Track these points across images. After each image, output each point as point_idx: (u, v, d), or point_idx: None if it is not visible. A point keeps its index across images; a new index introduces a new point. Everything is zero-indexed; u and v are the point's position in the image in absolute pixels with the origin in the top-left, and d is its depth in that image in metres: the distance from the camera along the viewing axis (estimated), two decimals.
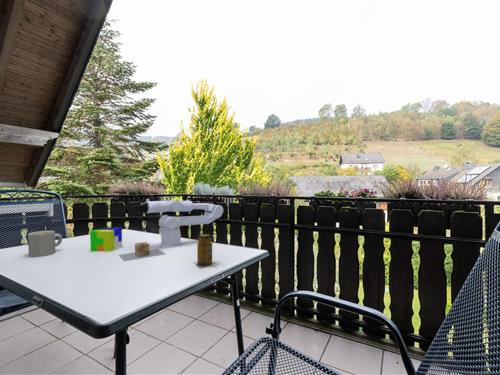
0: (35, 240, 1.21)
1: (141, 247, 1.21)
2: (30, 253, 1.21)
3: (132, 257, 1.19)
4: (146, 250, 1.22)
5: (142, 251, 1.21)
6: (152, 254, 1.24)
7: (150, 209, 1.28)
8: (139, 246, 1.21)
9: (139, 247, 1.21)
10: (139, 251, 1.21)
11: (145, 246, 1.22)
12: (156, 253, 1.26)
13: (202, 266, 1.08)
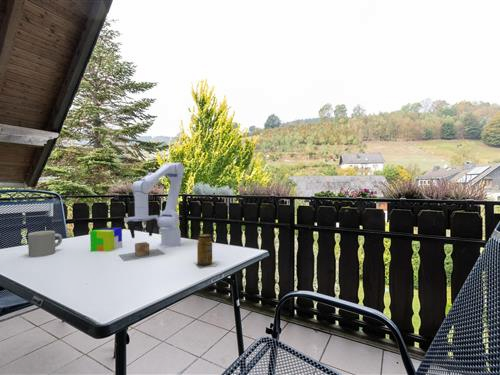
0: (35, 240, 1.21)
1: (141, 247, 1.21)
2: (30, 253, 1.21)
3: (132, 257, 1.19)
4: (146, 250, 1.22)
5: (142, 251, 1.21)
6: (152, 254, 1.24)
7: None
8: (139, 246, 1.21)
9: (139, 247, 1.21)
10: (139, 251, 1.21)
11: (145, 246, 1.22)
12: (156, 253, 1.26)
13: (202, 266, 1.08)
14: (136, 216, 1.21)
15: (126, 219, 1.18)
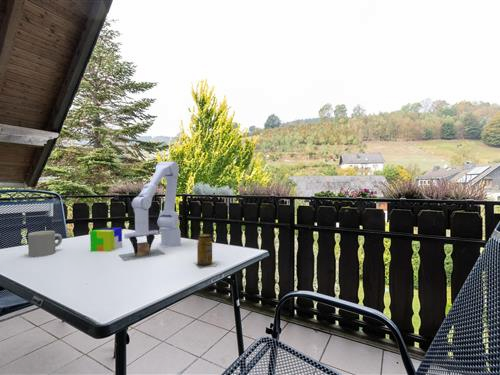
0: (35, 240, 1.21)
1: (141, 247, 1.21)
2: (30, 253, 1.21)
3: (132, 257, 1.19)
4: (146, 250, 1.22)
5: (142, 251, 1.21)
6: (152, 254, 1.24)
7: None
8: (139, 246, 1.21)
9: (139, 247, 1.21)
10: (139, 251, 1.21)
11: (145, 246, 1.22)
12: (156, 253, 1.26)
13: (202, 266, 1.08)
14: (136, 232, 1.21)
15: (126, 235, 1.19)
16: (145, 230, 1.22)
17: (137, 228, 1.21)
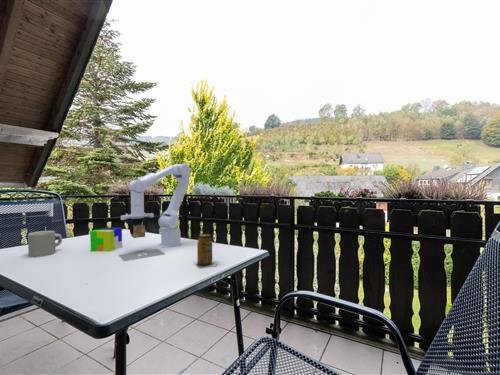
0: (35, 240, 1.21)
1: (137, 229, 1.26)
2: (30, 253, 1.21)
3: (132, 257, 1.19)
4: (142, 232, 1.28)
5: (138, 233, 1.26)
6: (152, 254, 1.24)
7: None
8: (135, 228, 1.26)
9: (135, 229, 1.26)
10: (135, 233, 1.26)
11: (141, 228, 1.27)
12: (156, 253, 1.26)
13: (202, 266, 1.08)
14: (132, 214, 1.26)
15: (123, 217, 1.24)
16: (141, 212, 1.27)
17: (133, 210, 1.26)
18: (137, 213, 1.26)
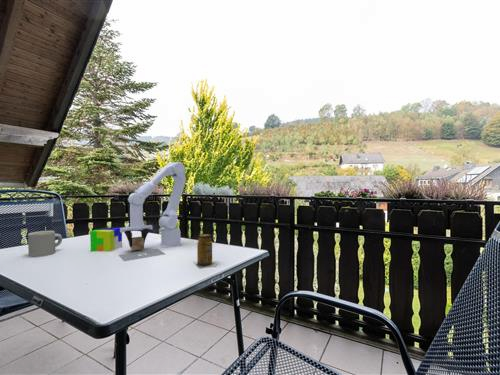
0: (35, 240, 1.21)
1: (136, 241, 1.28)
2: (30, 253, 1.21)
3: (132, 257, 1.19)
4: (141, 244, 1.29)
5: (137, 245, 1.28)
6: (152, 254, 1.24)
7: None
8: (134, 240, 1.27)
9: (134, 241, 1.27)
10: (134, 245, 1.27)
11: (140, 240, 1.29)
12: (156, 253, 1.26)
13: (202, 266, 1.08)
14: (131, 226, 1.28)
15: (122, 229, 1.26)
16: (139, 224, 1.29)
17: (132, 222, 1.28)
18: (136, 225, 1.28)
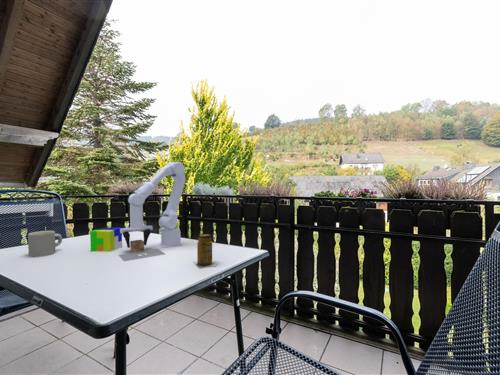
0: (35, 240, 1.21)
1: (136, 244, 1.28)
2: (30, 253, 1.21)
3: (132, 257, 1.19)
4: (141, 247, 1.29)
5: (137, 248, 1.28)
6: (152, 254, 1.24)
7: None
8: (134, 243, 1.27)
9: (134, 244, 1.27)
10: (134, 248, 1.27)
11: (140, 243, 1.29)
12: (156, 253, 1.26)
13: (202, 266, 1.08)
14: (131, 227, 1.28)
15: (122, 230, 1.26)
16: (139, 225, 1.29)
17: (132, 223, 1.28)
18: (136, 226, 1.28)
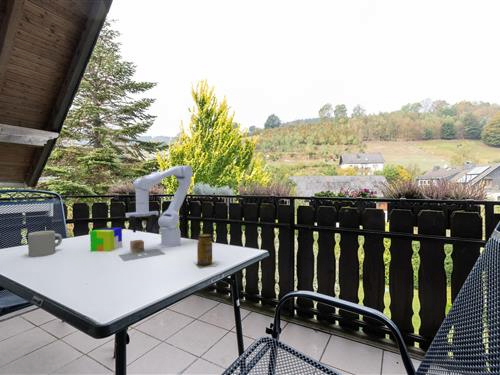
0: (35, 240, 1.21)
1: (136, 244, 1.28)
2: (30, 253, 1.21)
3: (132, 257, 1.19)
4: (141, 247, 1.29)
5: (137, 248, 1.28)
6: (152, 254, 1.24)
7: None
8: (134, 243, 1.27)
9: (134, 244, 1.27)
10: (134, 248, 1.27)
11: (140, 243, 1.29)
12: (156, 253, 1.26)
13: (202, 266, 1.08)
14: (137, 211, 1.27)
15: (128, 214, 1.24)
16: (145, 210, 1.27)
17: (138, 208, 1.26)
18: (142, 211, 1.26)
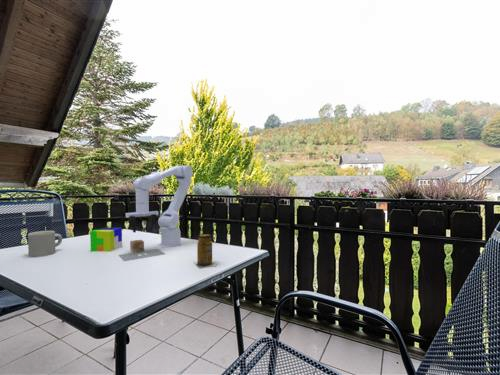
0: (35, 240, 1.21)
1: (136, 244, 1.28)
2: (30, 253, 1.21)
3: (132, 257, 1.19)
4: (141, 247, 1.29)
5: (137, 248, 1.28)
6: (152, 254, 1.24)
7: None
8: (134, 243, 1.27)
9: (134, 244, 1.27)
10: (134, 248, 1.27)
11: (140, 243, 1.29)
12: (156, 253, 1.26)
13: (202, 266, 1.08)
14: (137, 211, 1.27)
15: (128, 214, 1.24)
16: (145, 210, 1.27)
17: (138, 208, 1.26)
18: (142, 211, 1.26)
